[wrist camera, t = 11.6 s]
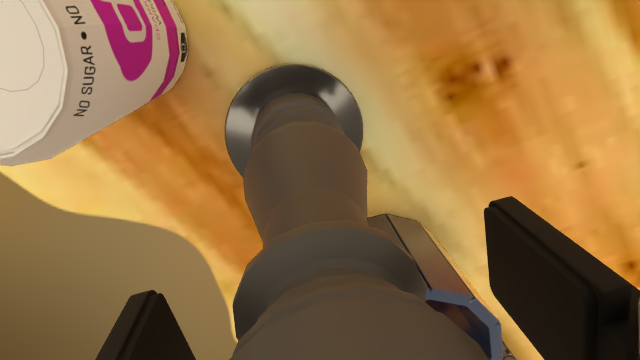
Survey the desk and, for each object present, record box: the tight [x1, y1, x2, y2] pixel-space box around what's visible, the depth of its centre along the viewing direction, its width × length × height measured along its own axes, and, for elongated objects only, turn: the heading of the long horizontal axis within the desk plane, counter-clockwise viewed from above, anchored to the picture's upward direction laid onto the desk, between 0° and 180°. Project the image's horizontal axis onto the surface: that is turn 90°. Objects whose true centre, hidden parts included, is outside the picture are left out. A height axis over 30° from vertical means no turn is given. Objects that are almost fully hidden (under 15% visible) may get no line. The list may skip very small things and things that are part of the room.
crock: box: [367, 214, 503, 360], centre depth 29 cm, size 11×11×10 cm
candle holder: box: [229, 92, 489, 360], centre depth 16 cm, size 6×6×25 cm
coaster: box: [225, 63, 363, 177], centre depth 28 cm, size 10×10×1 cm
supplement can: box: [0, 0, 188, 166], centre depth 18 cm, size 8×8×15 cm
